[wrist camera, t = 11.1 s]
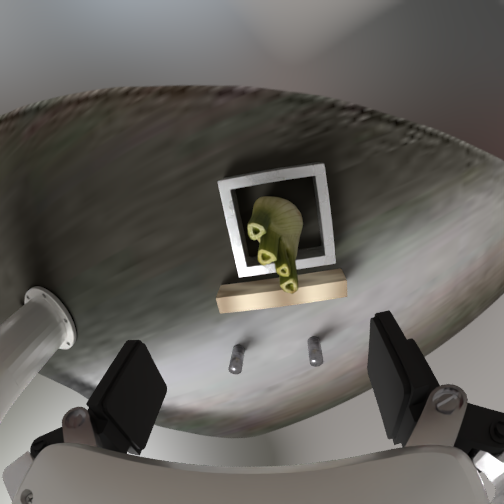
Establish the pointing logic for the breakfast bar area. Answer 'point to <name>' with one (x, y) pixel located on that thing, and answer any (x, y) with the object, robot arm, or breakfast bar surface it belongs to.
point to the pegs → (313, 347)
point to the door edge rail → (281, 292)
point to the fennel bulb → (277, 237)
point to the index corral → (316, 170)
